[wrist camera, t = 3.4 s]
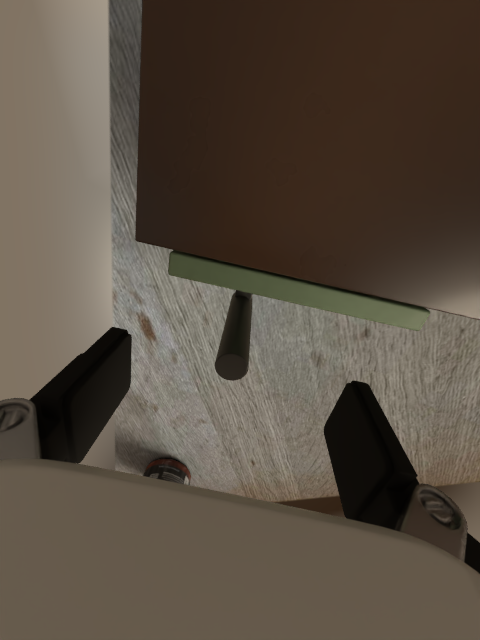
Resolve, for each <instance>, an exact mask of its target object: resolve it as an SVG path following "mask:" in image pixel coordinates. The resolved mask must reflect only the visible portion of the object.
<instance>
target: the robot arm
mask: <svg viewBox="0 0 480 640" xmlns="http://www.w3.org/2000/svg"><path fill="white" fill-rule="evenodd" d="M131 342H132V337H131V335H130V334H128V331H127V330H124V329H120V328H115V327H112V328H110V329H109V330H108V331H107V332H106V333H105V334H104V335H103V336H102V337H101V338H100V339H99V340H97V341H96V342H95V343H94V344H93V345H92V346H91V347H90V348H89V349H88V350H87V351H86V352H85V353H83V354H80V355H78V356H77V357H76V358H75V359H74V360H73V361H72V362H71V363H69V364H68V365H67V366H66V367H65V368H64V369H63V370H62V371H61V372H60V373H58V375H56V376H55V377H54V378H53V379H52V380H51V381H50V382H49V383H48V384H46V385H45V386H44V387H43V388H42V389H41V390H40V391H39V392H38V393H37V394H36V395H35V396H33V397H32V398H31V399H30V400H27V399H24V398H13V399H6V400H2V401H0V640H480V543H479V542H478V541H477V540H476V539H474V538H473V537H472V536H471V535H470V534H468V533H467V530H468V528H467V522H466V519H465V517H464V515H463V513H462V512H461V510H460V509H459V507H458V506H457V505H456V504H455V503H454V502H453V501H452V499H451V498H449V497H448V496H447V495H446V494H445V493H444V492H442V491H440V490H439V489H437V488H436V487H433V486H431V485H428V484H419V482H418V480H417V479H416V477H417V474H416V472H415V470H414V468H413V466H412V464H411V463H410V461H409V459H408V457H407V455H406V453H405V451H404V450H403V448H402V446H401V444H400V442H399V440H398V438H397V437H396V435H395V433H394V431H393V429H392V427H391V425H390V424H389V422H388V420H387V418H386V416H385V414H384V412H383V411H382V409H381V407H380V405H379V403H378V401H377V399H376V398H375V396H374V394H373V392H372V390H371V388H370V386H369V385H368V384H367V383H363V382H358V381H352V382H351V383H347V384H346V386H345V388H344V390H343V392H342V394H341V395H340V397H339V399H338V401H337V403H336V405H335V407H334V409H333V411H332V413H331V414H330V416H329V418H328V420H327V422H326V424H325V426H324V435H325V439H326V443H327V447H328V451H329V455H330V459H331V463H332V467H333V471H334V475H335V479H336V483H337V487H338V491H339V495H340V499H341V503H342V507H343V511H344V515H345V517H346V518H347V519H346V518H342V517H337V516H333V515H328V514H323V513H318V512H314V511H309V510H305V509H300V508H295V507H291V506H286V505H281V504H277V503H272V502H267V501H262V500H257V499H253V498H248V497H243V496H238V495H233V494H229V493H224V492H219V491H214V490H209V489H204V488H199V487H194V486H190V485H185V484H180V483H175V482H170V481H165V480H160V479H155V478H150V477H145V476H140V475H135V474H130V473H125V472H120V471H115V470H109V469H103V468H98V467H93V466H87V465H81V464H76V463H80V462H81V461H82V460H83V458H84V457H85V455H86V454H87V452H88V451H89V449H90V448H91V446H92V445H93V443H94V442H95V440H96V439H97V437H98V436H99V434H100V432H101V431H102V430H103V428H104V427H105V425H106V424H107V422H108V421H109V419H110V418H111V416H112V415H113V413H114V412H115V410H116V409H117V407H118V406H119V404H120V402H121V401H122V399H123V398H124V396H125V395H126V393H127V392H128V390H129V388H130V383H131Z"/></svg>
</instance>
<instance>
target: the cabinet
mask: <svg viewBox="0 0 480 640" xmlns="http://www.w3.org/2000/svg"><path fill="white" fill-rule="evenodd" d="M135 240H136V241H138V242H142V243H147V244H151V245H155V246H160V247H164V248H168V249H173V250H177V251H181V252H186V253H190V254H194V255H199V256H203V257H207V258H212V259H216V260H220V261H225V262H229V263H234V264H238V265H242V266H247V267H251V268H255V269H260V270H264V271H268V272H273V273H277V274H281V275H286V276H290V277H294V278H299V279H303V280H308V281H312V282H316V283H321V284H325V285H329V286H334V287H338V288H342V289H347V290H351V291H355V292H360V293H364V294H368V295H373V296H377V297H381V298H386V299H390V300H395V301H399V302H403V303H408V304H412V305H416V306H421V307H425V308H429V309H434V310H438V311H442V312H447V313H451V314H455V315H460V316H464V317H469V318H473V319H477V320H480V0H142V29H141V64H140V99H139V133H138V168H137V203H136V238H135Z"/></svg>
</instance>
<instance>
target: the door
mask: <svg viewBox="0 0 480 640" xmlns="http://www.w3.org/2000/svg"><path fill="white" fill-rule="evenodd" d="M168 273H169V275H172V276H176V277H181V278H185V279H190V280H194V281H198V282H203V283H207V284H212V285H216V286H220V287H225V288H229V289H234V290H236V292H235V293H234V294H233V296H232V299H231V303H230V307H229V311H228V314H227V318H226V322H225V326H224V330H223V334H222V338H221V342H220V346H219V350H218V354H217V358H216V362H215V369H216V372H217V373H218V374H219V376H221V377H222V378H224V379H226V380H238V379H241V378H242V377H244V376H245V375H246V373H247V371H248V364H249V348H250V332H251V316H252V294H256V295H260V296H265V297H269V298H274V299H278V300H282V301H287V302H291V303H296V304H300V305H304V306H309V307H313V308H318V309H322V310H327V311H331V312H335V313H340V314H344V315H349V316H353V317H358V318H362V319H366V320H371V321H375V322H380V323H384V324H389V325H393V326H397V327H402V328H406V329H411V330H415V331H419V330H420V329H421V328H422V326H423V324H424V323H425V321H426V319H427V318H428V316H429V314H430V311H429V310H427V309H426V308H424V307H421V306H416V305H412V304H408V303H403V302H399V301H395V300H390V299H386V298H381V297H377V296H373V295H368V294H364V293H360V292H355V291H351V290H347V289H342V288H338V287H334V286H329V285H325V284H321V283H316V282H312V281H308V280H303V279H299V278H294V277H290V276H286V275H281V274H277V273H273V272H268V271H264V270H260V269H255V268H251V267H247V266H242V265H238V264H234V263H229V262H225V261H220V260H216V259H212V258H207V257H203V256H199V255H194V254H190V253H186V252H181V251H177V250H173V251H172V252H171V253H170V257H169V268H168Z"/></svg>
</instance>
